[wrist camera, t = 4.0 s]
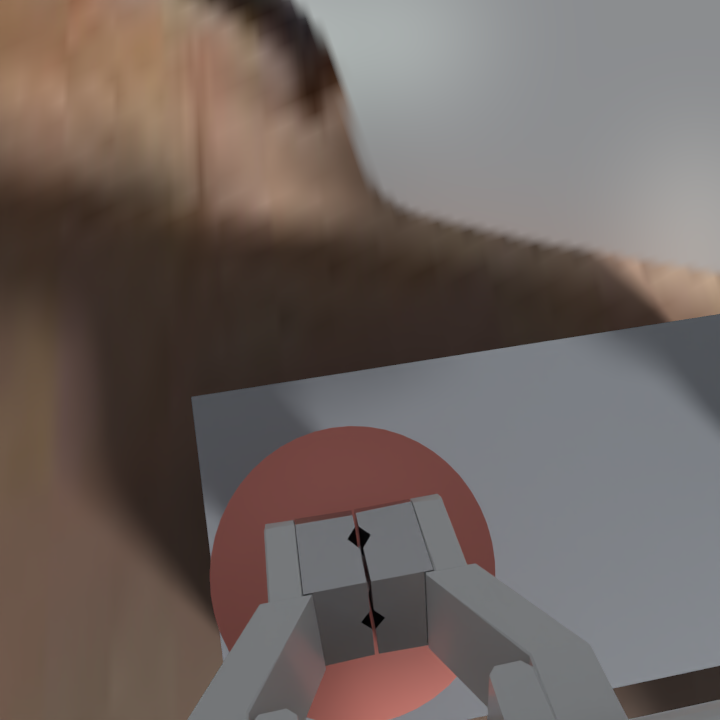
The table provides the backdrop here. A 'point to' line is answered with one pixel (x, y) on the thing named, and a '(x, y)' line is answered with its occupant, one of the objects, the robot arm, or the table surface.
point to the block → (543, 477)
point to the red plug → (344, 493)
